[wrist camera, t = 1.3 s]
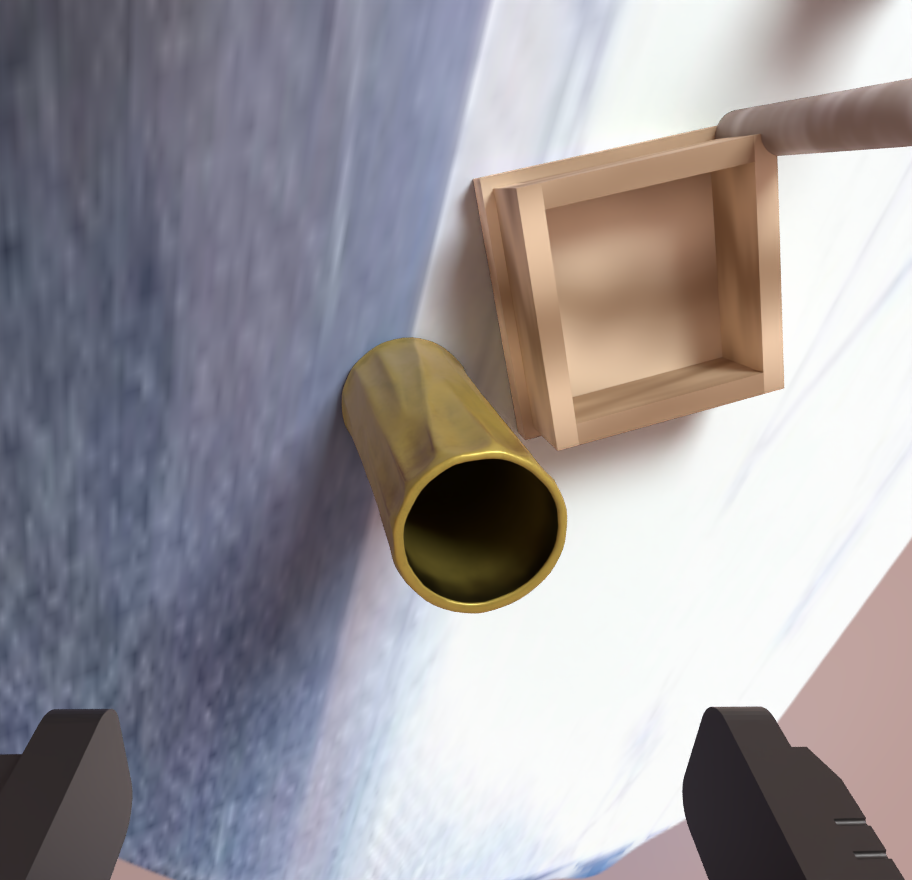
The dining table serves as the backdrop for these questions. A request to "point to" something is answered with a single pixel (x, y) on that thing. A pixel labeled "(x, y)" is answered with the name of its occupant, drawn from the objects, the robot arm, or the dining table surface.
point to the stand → (658, 265)
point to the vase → (450, 480)
